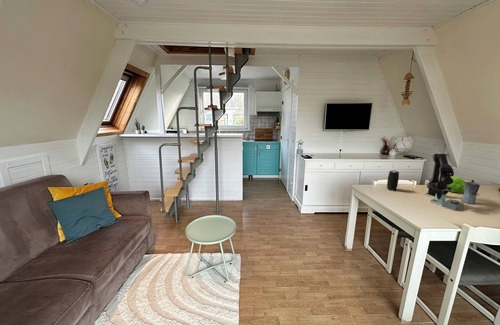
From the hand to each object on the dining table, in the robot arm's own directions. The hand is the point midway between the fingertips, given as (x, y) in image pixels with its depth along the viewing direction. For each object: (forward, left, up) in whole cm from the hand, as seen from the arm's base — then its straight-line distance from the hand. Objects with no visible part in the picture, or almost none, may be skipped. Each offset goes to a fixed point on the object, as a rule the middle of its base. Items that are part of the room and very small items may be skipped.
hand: (439, 198), depth 172 cm
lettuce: (-51, -9, -4) cm, 52 cm away
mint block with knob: (0, 0, -1) cm, 1 cm away
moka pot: (-26, +10, -4) cm, 28 cm away
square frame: (0, +4, -4) cm, 6 cm away
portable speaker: (0, -39, -4) cm, 39 cm away
